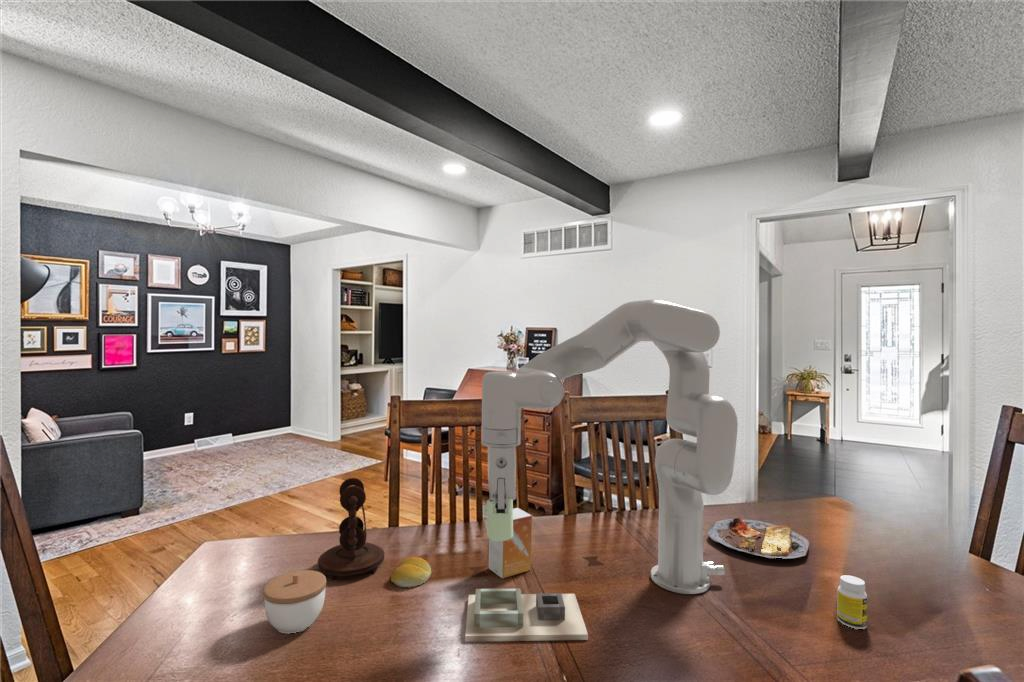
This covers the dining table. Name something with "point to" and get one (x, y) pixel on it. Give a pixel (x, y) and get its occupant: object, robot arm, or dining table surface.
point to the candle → (499, 521)
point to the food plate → (773, 537)
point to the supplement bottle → (852, 602)
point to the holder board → (523, 616)
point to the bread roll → (411, 572)
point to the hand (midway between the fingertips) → (500, 530)
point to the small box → (513, 548)
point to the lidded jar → (294, 600)
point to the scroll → (351, 538)
